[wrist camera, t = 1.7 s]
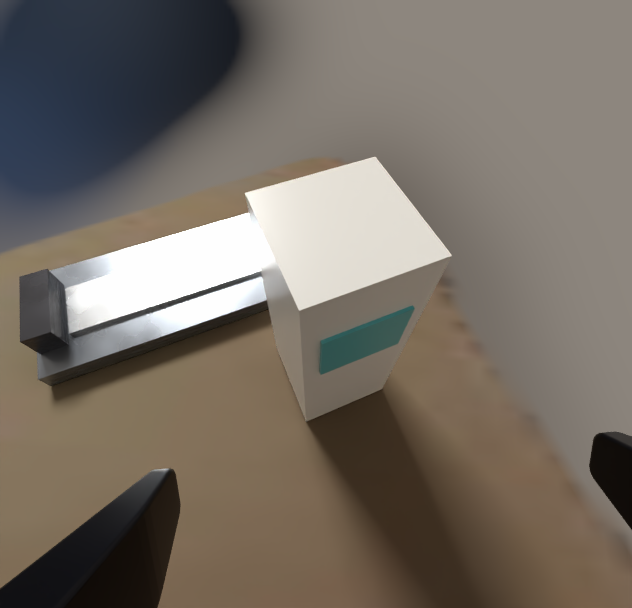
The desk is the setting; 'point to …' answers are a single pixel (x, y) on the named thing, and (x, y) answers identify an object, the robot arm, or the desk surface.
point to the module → (342, 278)
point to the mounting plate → (140, 298)
